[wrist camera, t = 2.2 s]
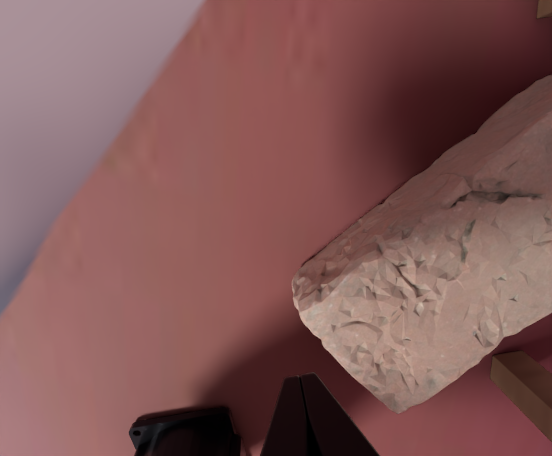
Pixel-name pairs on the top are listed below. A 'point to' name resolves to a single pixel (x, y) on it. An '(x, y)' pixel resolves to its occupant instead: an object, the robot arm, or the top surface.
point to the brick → (442, 261)
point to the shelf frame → (527, 360)
